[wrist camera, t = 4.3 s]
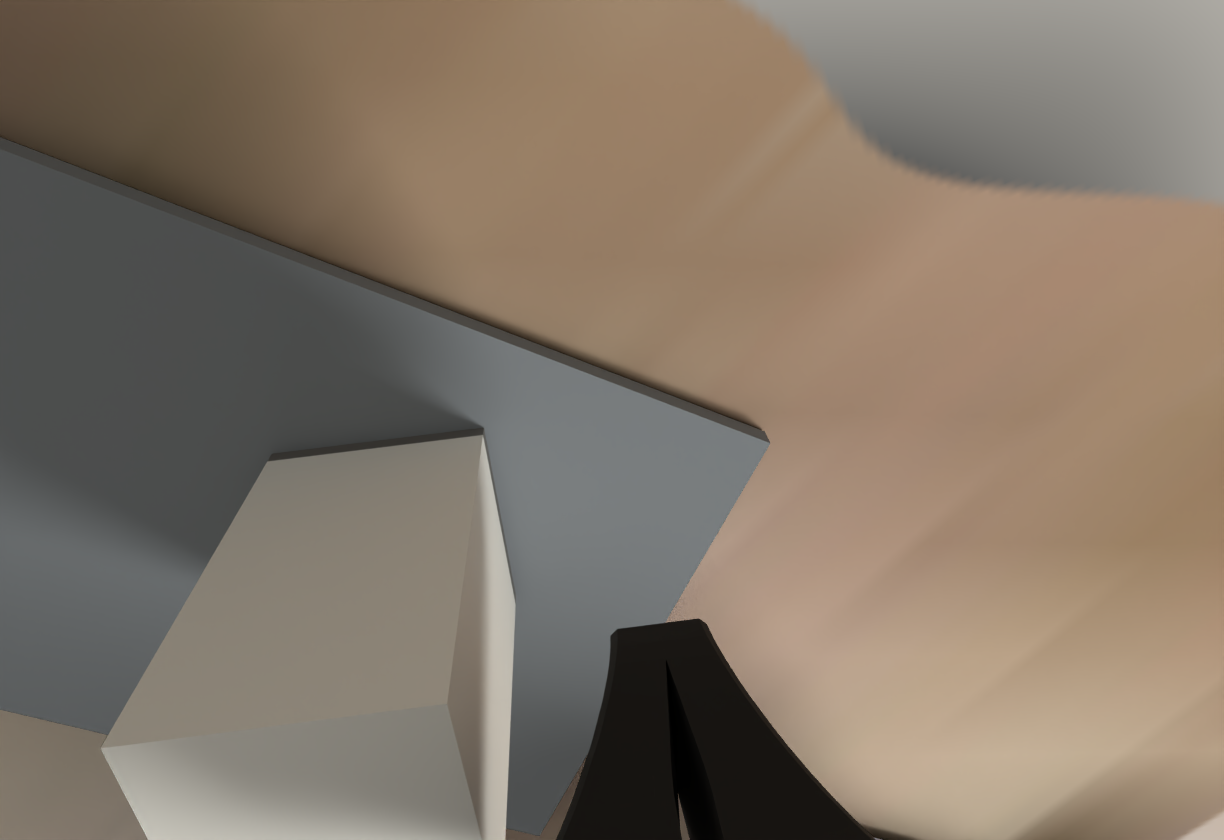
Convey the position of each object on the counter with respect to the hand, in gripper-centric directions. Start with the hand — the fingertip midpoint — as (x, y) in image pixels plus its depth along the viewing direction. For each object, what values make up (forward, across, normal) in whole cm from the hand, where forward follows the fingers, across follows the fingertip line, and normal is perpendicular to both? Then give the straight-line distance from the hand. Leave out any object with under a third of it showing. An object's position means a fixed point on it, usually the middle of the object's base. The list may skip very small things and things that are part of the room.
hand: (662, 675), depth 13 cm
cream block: (+5, +5, 0) cm, 7 cm away
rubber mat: (+5, +7, 0) cm, 9 cm away
